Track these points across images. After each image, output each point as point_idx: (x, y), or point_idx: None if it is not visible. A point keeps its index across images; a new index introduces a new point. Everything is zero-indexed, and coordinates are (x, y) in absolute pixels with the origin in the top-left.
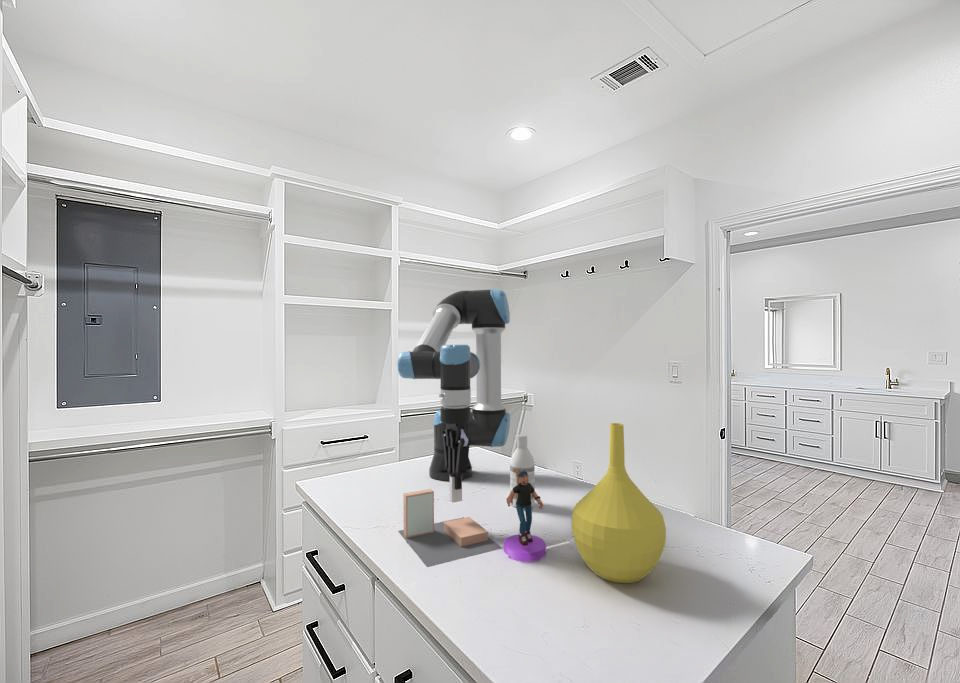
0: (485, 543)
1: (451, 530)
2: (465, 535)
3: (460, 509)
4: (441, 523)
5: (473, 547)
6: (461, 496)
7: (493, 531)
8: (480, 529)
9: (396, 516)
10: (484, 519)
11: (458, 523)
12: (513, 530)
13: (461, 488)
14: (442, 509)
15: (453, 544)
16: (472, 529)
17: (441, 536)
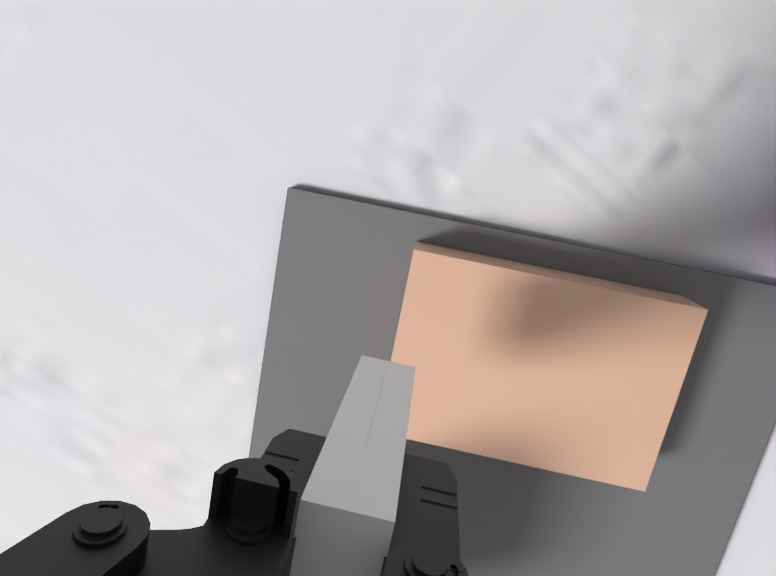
0: (700, 335)
1: (501, 456)
2: (639, 452)
3: (132, 100)
4: (286, 359)
5: (683, 416)
6: (411, 387)
7: (582, 160)
8: (642, 327)
9: (29, 473)
10: (385, 76)
11: (457, 374)
12: (673, 33)
13: (406, 425)
14: (67, 203)
15: None
16: (600, 365)
17: (440, 460)
